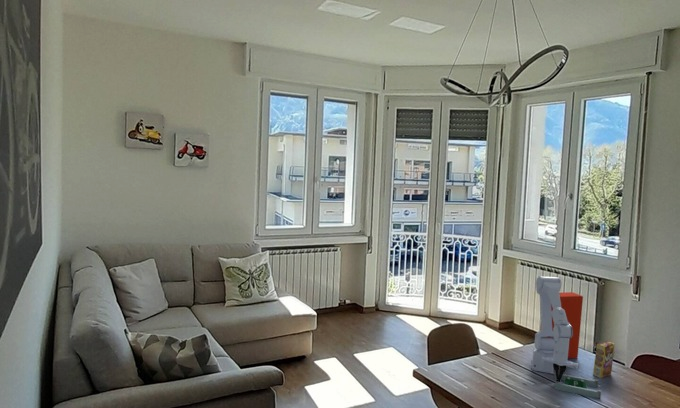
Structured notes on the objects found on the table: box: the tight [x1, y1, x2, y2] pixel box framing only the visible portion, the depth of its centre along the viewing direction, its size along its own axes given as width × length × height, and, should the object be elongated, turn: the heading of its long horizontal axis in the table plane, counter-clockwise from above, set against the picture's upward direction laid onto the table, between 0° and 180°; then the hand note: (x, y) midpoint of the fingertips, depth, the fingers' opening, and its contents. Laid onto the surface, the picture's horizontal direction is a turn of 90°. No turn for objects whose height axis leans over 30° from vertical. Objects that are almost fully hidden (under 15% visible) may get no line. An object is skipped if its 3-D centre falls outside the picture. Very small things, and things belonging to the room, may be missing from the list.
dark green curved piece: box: [563, 377, 588, 389], centre depth 211 cm, size 9×4×6 cm
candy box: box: [592, 340, 616, 379], centre depth 226 cm, size 9×4×15 cm, turn 123°
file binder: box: [539, 292, 584, 359], centre depth 247 cm, size 8×17×32 cm, turn 103°
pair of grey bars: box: [553, 371, 602, 399], centre depth 212 cm, size 18×12×3 cm
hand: (558, 380), depth 215 cm, fingers closed
